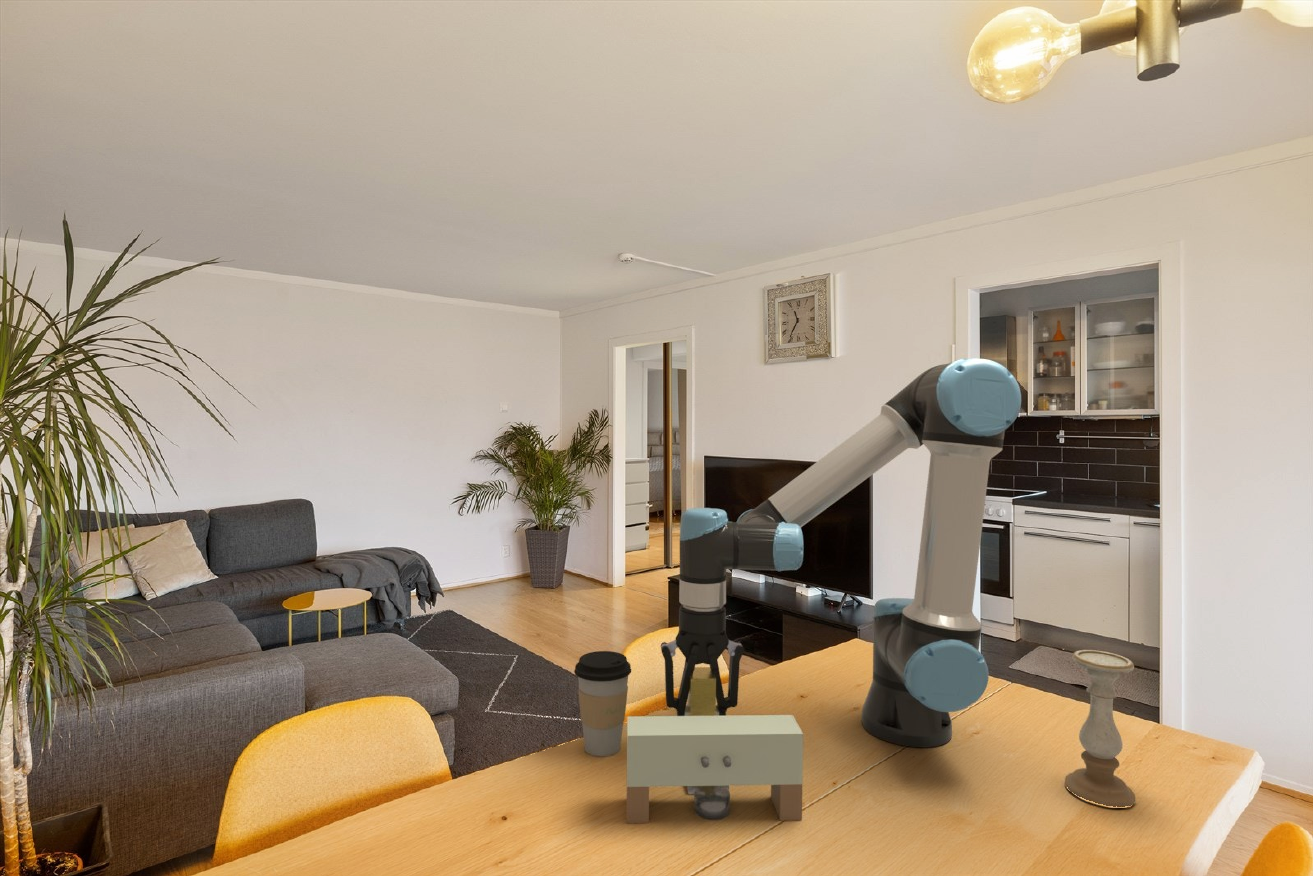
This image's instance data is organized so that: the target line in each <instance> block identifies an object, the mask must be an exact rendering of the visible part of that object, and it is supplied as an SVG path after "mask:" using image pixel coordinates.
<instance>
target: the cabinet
mask: <svg viewBox="0 0 1313 876" xmlns="http://www.w3.org/2000/svg"><path fill="white" fill-rule="evenodd" d="M626 722H627V723H626V725H627V727H626V733H627V734H626V824H649V823H650V822H649V821H650V787H687V786H722V785H729V786H767V785H769V786H770V798H771V801H772V803H773V806H774V809H775V811H776V813H777V816H778V819H779V821H783V822H784V821H786V822H787V821H802V820H803V777H804V776H803V774H804V773H803V771H804V767H803V765H804V763H803V762H804V761H803V759H804V733H803V731H802V729H801V728H800V726H799V723H798V722H797V721H796V718H795V717H794V715H793V714H764V715H763V714H758V715H755V714H753V715H751V714H750V715H745V714H744V715H741V714H740V715H726V716H677V715H658V716H657V715H655V716H654V715H651V716H644V715H642V716H639V715H638V716H636V715H635V716H627V719H626Z"/></svg>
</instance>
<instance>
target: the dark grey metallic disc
mask: <svg viewBox="0 0 1313 876" xmlns="http://www.w3.org/2000/svg"><path fill="white" fill-rule="evenodd" d="M693 796H694V801H693V802H694V803H693V806H694V807H693V808H694V813H695V814H696V815H697V816H698V817H700V818H702V819H704V820H709V821H718V820H719V821H720V820H722V819H725V818H726V817H728V816H729V815H730V812H731V793H730V790H729V791H728V790H727V789H726V788H724V787H722V786H700V787H698V788H697V789H696V790H695V792H694V794H693Z"/></svg>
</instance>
